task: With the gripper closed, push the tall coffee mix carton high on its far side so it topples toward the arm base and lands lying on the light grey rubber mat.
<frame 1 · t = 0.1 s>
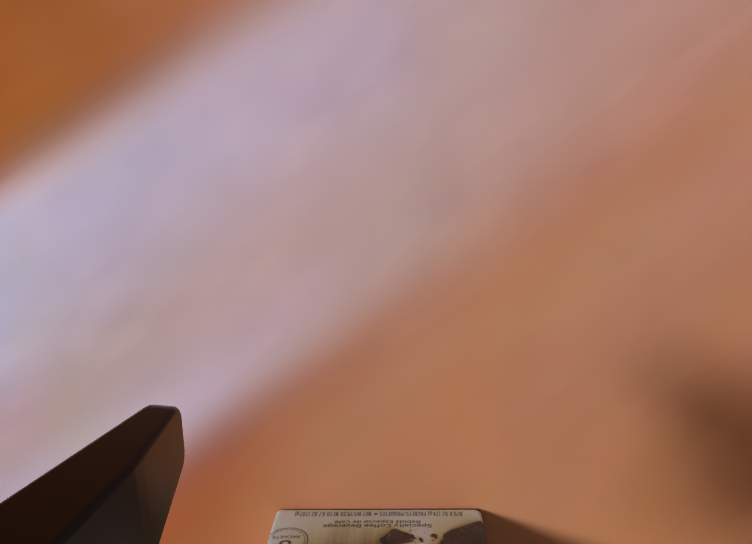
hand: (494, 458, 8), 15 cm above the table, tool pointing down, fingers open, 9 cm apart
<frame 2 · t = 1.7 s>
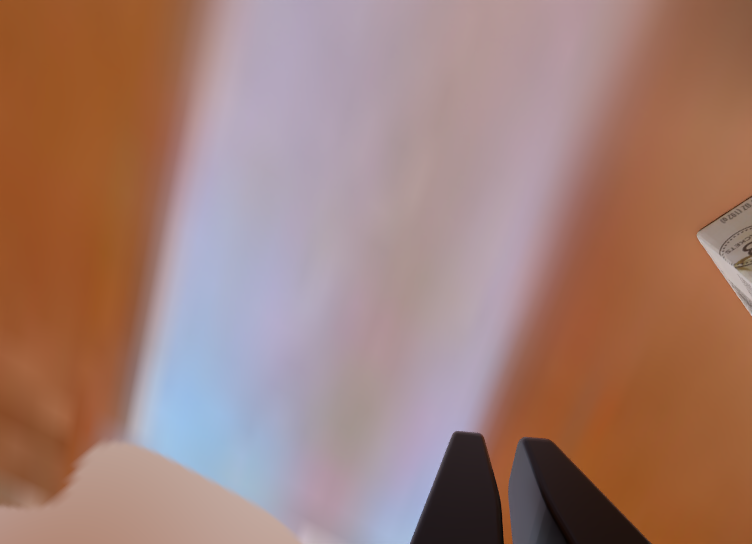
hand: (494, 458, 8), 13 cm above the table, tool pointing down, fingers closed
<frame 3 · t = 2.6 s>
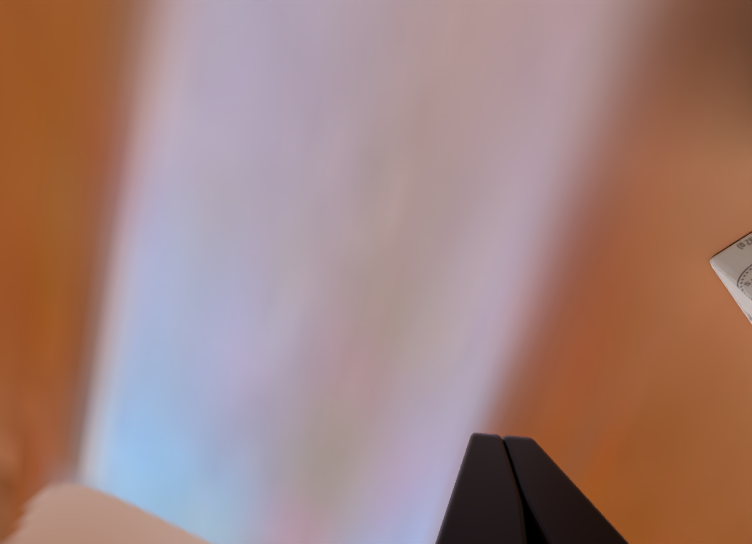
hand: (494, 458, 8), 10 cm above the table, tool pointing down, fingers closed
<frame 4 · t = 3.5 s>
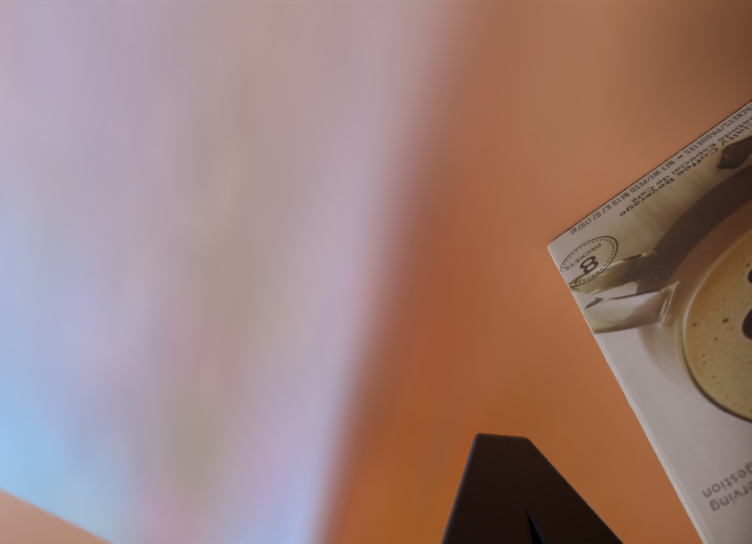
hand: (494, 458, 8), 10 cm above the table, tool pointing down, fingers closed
coffee box: (722, 224, 18), on the table, touching gripper
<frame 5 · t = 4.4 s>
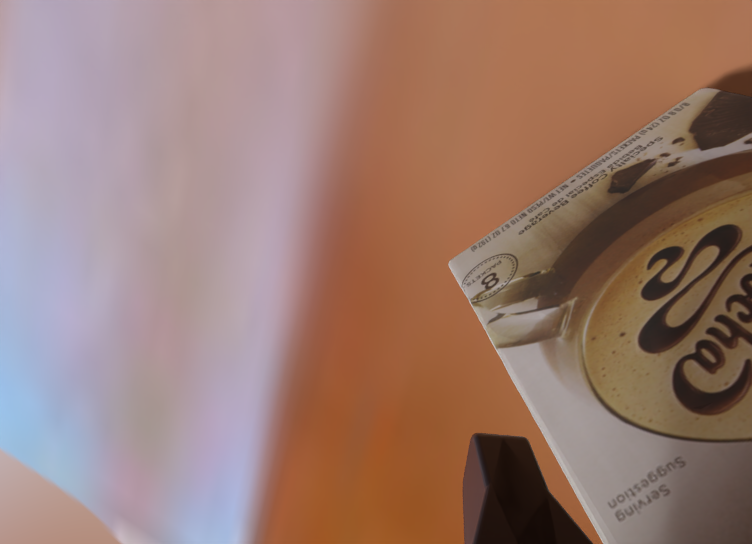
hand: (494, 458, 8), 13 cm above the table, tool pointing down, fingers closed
coffee box: (607, 248, 19), point 1 cm above the table, touching gripper
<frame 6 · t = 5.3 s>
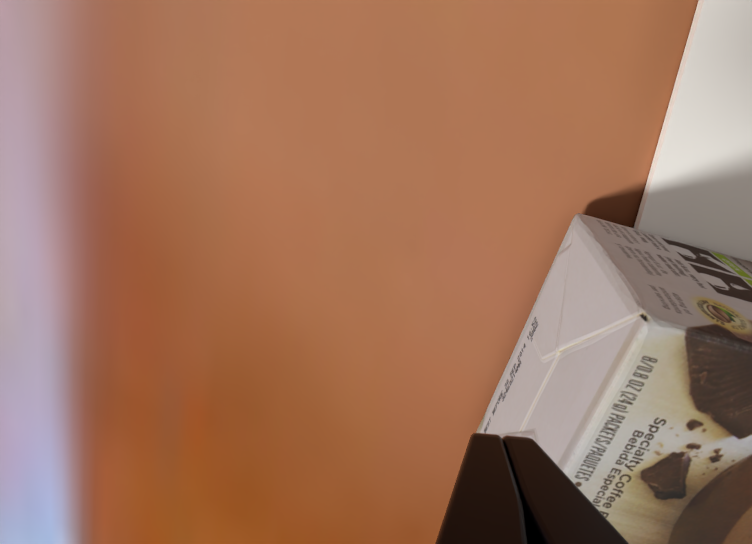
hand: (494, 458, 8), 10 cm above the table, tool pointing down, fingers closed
coffee box: (527, 394, 16), point 3 cm above the table, touching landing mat
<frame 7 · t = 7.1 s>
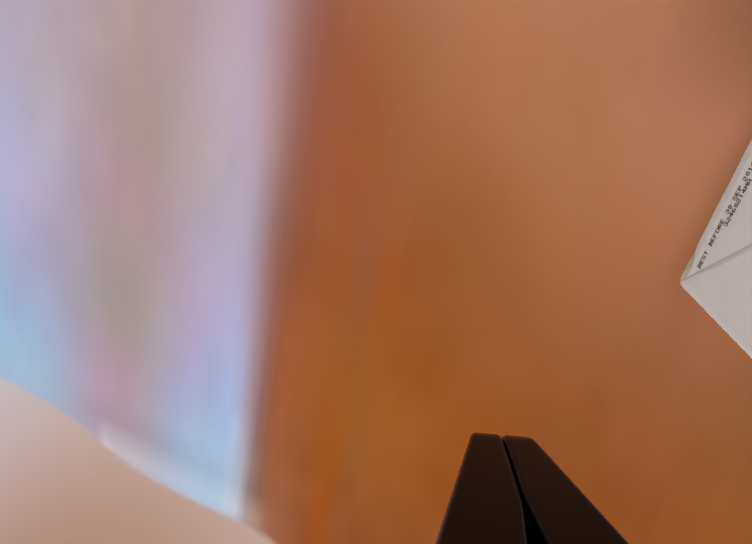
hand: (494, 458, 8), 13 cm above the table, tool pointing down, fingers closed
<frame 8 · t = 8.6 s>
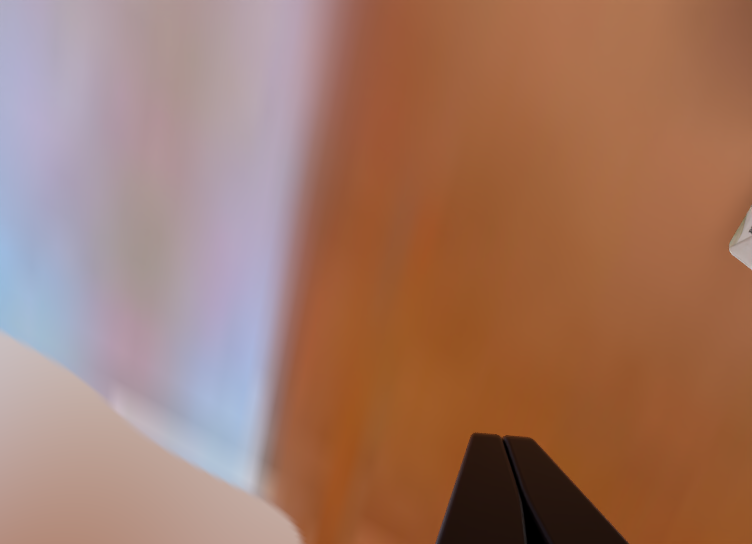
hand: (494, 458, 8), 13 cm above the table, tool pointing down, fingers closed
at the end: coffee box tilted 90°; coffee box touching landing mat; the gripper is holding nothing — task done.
